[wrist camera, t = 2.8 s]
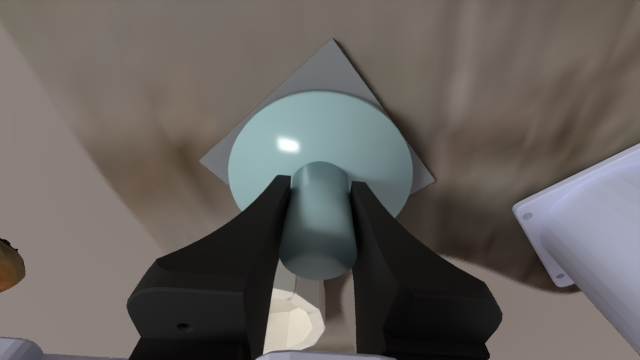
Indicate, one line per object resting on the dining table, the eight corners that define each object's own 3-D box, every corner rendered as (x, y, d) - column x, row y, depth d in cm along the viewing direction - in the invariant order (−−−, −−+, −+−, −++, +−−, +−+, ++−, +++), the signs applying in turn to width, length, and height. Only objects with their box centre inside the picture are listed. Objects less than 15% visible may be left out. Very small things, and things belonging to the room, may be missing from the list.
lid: (440, 187, 14) (491, 268, 10) (311, 259, 17) (306, 344, 13) (334, 40, 11) (341, 67, 6) (196, 166, 14) (136, 241, 9)
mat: (432, 177, 15) (435, 180, 15) (311, 248, 18) (310, 252, 18) (332, 37, 11) (332, 38, 11) (202, 157, 15) (199, 161, 14)
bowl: (345, 283, 20) (348, 330, 17) (271, 319, 23) (263, 365, 20) (268, 221, 17) (257, 266, 14) (193, 273, 20) (170, 319, 17)
